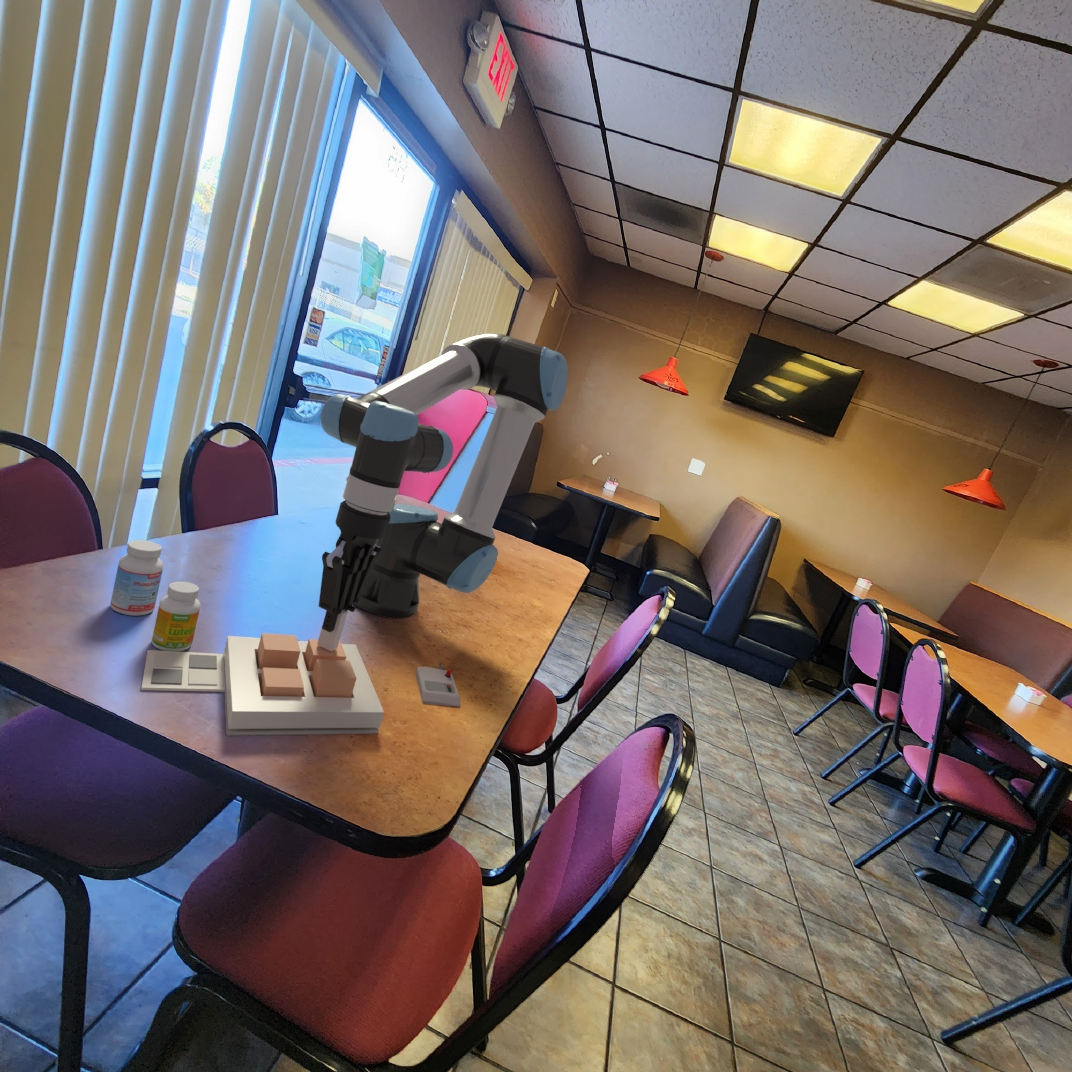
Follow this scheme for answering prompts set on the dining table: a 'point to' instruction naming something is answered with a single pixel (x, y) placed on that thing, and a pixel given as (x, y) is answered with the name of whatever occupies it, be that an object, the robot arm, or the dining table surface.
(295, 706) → the board
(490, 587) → the dining table surface
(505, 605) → the dining table surface
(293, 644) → the button
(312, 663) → the button
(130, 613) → the pill bottle
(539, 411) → the robot arm
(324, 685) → the button
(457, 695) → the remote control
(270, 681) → the button
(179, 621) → the supplement bottle
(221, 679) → the card
